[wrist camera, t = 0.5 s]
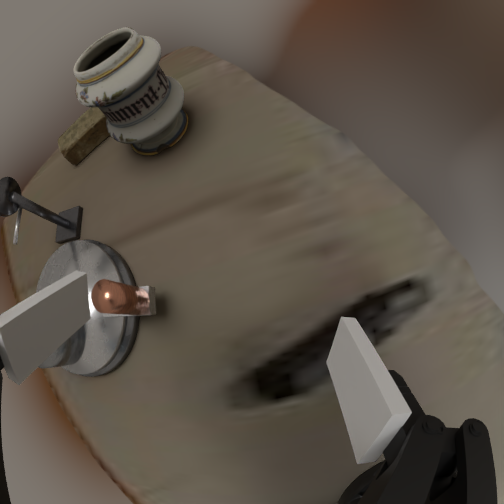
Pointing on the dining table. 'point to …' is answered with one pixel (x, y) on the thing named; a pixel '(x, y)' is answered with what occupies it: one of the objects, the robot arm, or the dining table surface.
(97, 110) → the stone block
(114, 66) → the apothecary jar
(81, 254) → the turntable
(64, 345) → the cover
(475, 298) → the dining table surface
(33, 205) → the dial gauge stand
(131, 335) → the turntable base
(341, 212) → the dining table surface
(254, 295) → the dining table surface
